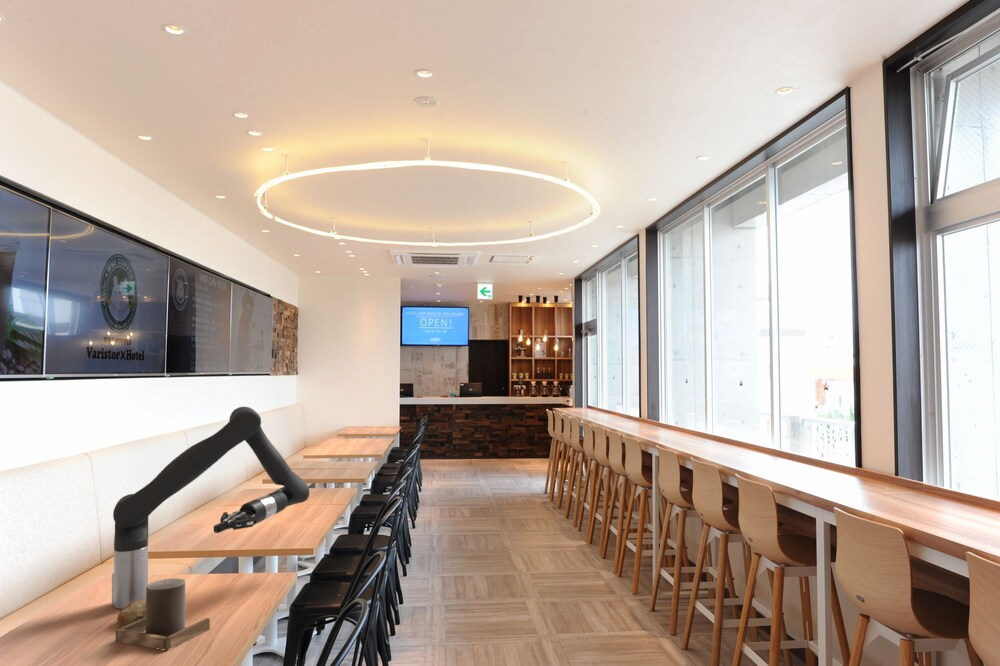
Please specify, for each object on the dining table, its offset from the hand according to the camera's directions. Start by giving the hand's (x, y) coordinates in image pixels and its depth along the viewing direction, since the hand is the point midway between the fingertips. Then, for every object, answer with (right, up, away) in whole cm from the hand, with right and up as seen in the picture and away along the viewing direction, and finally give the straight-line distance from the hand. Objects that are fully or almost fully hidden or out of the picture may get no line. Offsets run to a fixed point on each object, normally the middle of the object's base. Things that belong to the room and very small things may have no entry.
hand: (215, 529), depth 198 cm
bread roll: (-18, -24, -11) cm, 32 cm away
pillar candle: (-5, -23, -19) cm, 30 cm away
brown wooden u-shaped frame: (-5, -23, -20) cm, 31 cm away
